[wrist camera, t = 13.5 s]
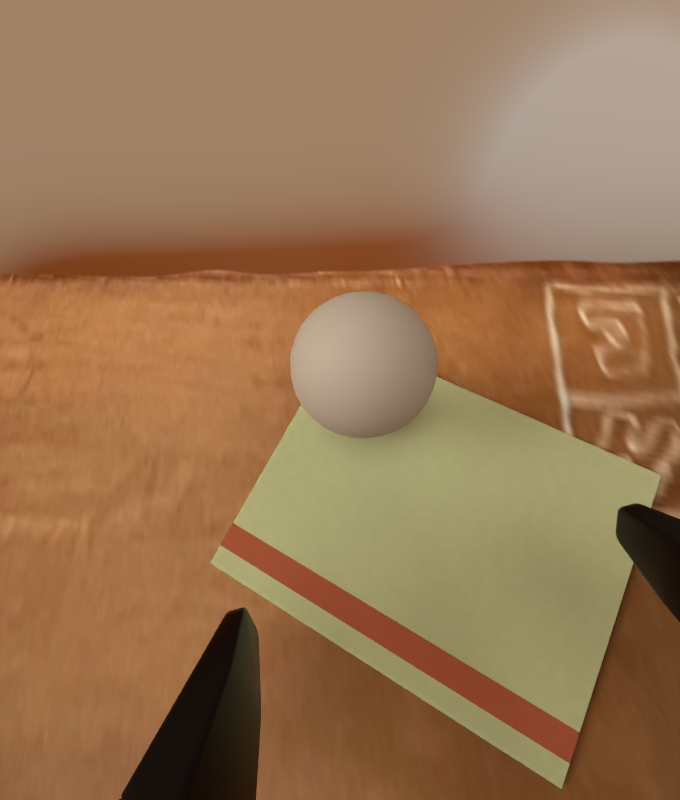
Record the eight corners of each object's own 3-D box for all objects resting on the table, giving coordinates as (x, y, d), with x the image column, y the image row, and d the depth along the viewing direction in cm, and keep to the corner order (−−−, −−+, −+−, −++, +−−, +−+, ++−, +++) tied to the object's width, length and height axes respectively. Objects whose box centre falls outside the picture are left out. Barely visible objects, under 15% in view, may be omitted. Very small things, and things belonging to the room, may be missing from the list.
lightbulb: (399, 480, 23) (416, 443, 12) (303, 444, 24) (244, 382, 13) (431, 387, 24) (471, 283, 14) (340, 357, 25) (313, 240, 15)
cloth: (657, 475, 22) (661, 475, 21) (559, 785, 18) (562, 789, 18) (341, 336, 26) (341, 334, 26) (211, 562, 23) (209, 563, 22)
